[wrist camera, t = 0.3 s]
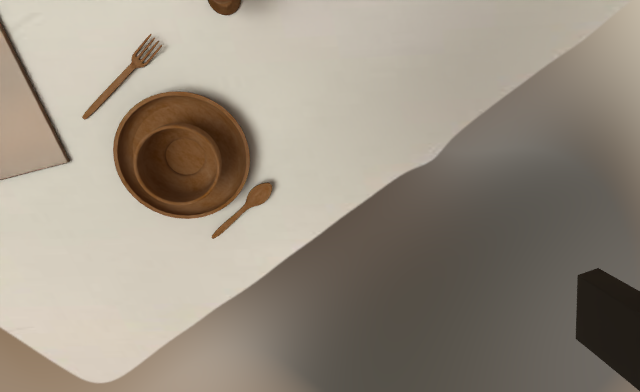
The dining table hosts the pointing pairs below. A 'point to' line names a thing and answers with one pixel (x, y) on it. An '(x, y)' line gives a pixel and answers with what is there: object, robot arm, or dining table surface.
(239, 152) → the place setting
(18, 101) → the bronze metal board
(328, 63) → the dining table surface
